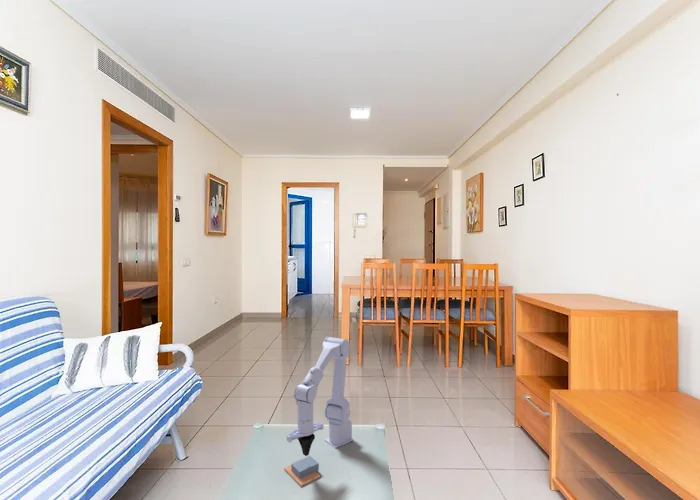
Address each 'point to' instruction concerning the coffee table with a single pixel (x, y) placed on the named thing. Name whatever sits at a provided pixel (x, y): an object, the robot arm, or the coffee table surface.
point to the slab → (304, 467)
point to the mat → (305, 479)
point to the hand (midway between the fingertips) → (305, 454)
